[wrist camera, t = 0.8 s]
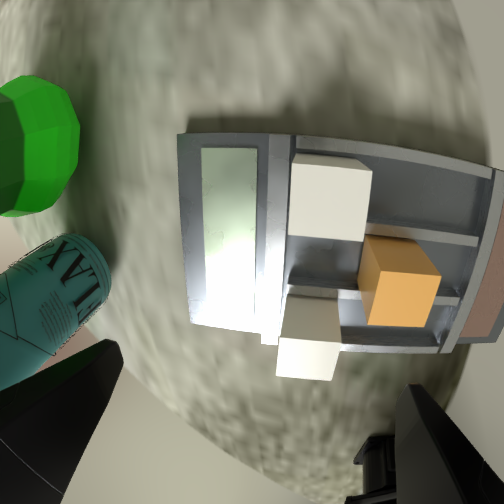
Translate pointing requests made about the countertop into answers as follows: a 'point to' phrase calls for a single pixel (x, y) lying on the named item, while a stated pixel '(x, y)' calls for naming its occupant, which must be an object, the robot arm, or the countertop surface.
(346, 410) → the countertop surface
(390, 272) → the block
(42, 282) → the beverage bottle
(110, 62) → the countertop surface
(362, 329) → the panel
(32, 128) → the plastic bottle
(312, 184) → the block
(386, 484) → the robot arm
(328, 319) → the block
